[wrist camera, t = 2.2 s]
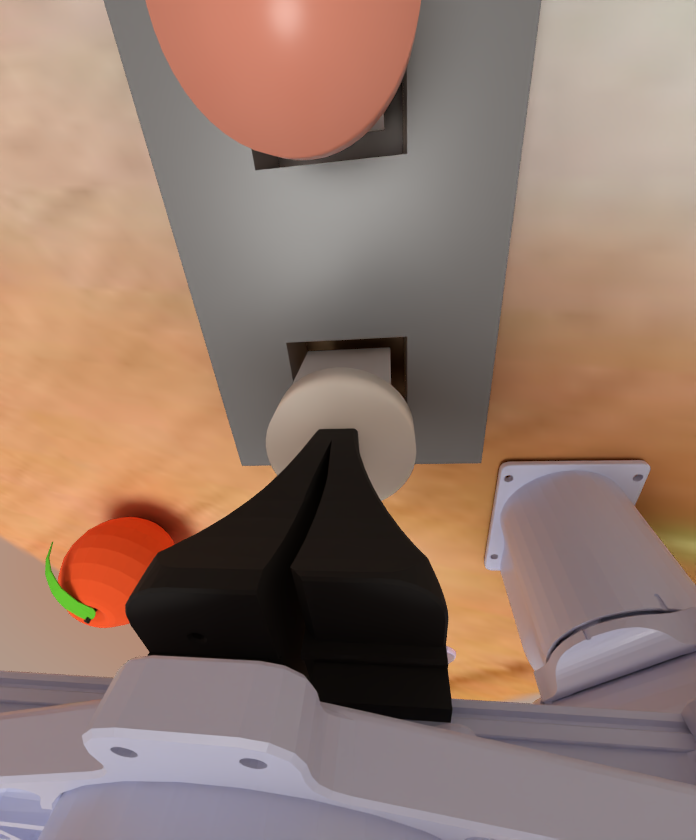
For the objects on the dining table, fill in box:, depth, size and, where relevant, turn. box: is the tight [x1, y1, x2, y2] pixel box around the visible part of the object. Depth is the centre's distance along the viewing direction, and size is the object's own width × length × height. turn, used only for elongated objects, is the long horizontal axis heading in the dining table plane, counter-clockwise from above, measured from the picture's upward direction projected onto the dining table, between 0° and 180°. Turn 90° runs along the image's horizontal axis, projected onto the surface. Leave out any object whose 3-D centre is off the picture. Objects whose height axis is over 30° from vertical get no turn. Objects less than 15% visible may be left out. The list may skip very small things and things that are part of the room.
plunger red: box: [145, 0, 421, 160], centre depth 9 cm, size 5×5×5 cm
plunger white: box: [266, 347, 416, 501], centre depth 15 cm, size 5×5×5 cm
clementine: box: [45, 517, 174, 628], centre depth 25 cm, size 8×7×7 cm
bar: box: [104, 0, 541, 466], centre depth 15 cm, size 19×12×4 cm, turn 5°
